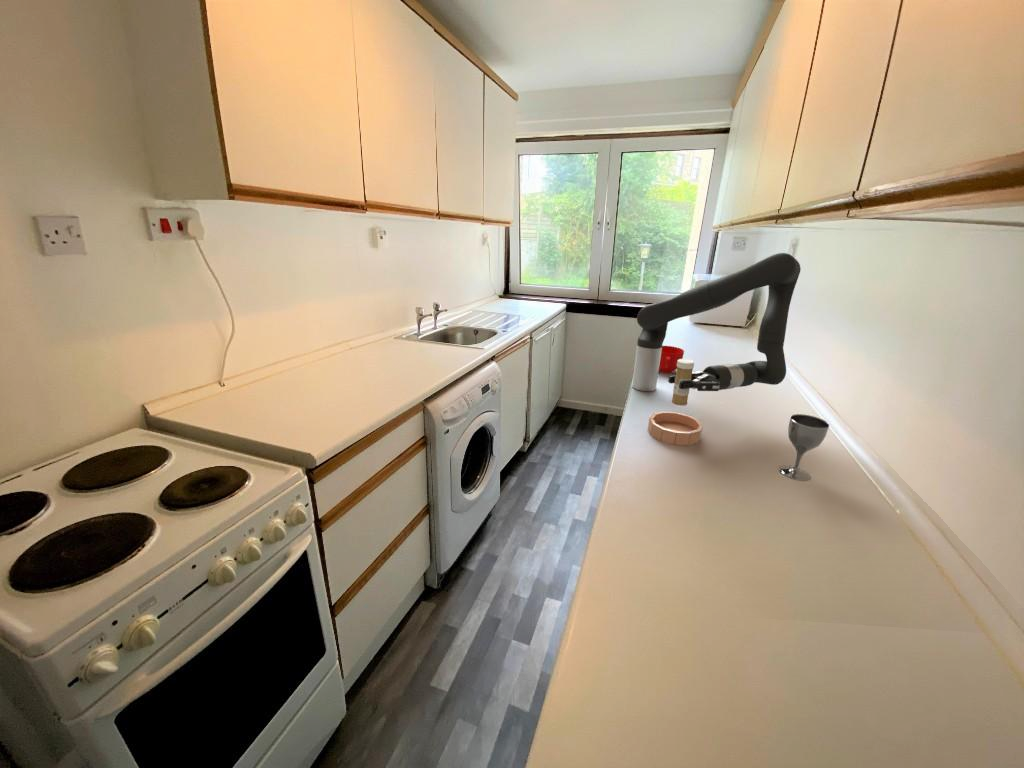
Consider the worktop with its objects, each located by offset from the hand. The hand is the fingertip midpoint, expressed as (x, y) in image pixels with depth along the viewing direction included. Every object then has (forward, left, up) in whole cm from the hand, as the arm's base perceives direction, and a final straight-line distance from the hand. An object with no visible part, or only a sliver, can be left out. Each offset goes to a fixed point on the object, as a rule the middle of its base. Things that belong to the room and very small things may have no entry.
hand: (674, 382), depth 121 cm
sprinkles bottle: (-1, +3, -7) cm, 8 cm away
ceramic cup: (-62, +16, -17) cm, 66 cm away
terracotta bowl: (-1, +2, -17) cm, 17 cm away
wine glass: (+19, +27, -17) cm, 38 cm away
